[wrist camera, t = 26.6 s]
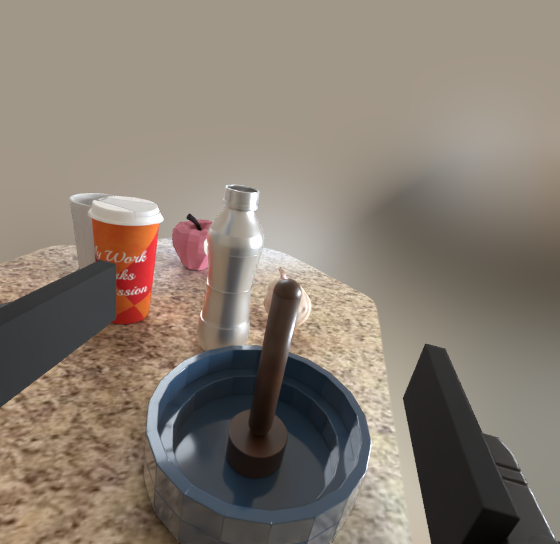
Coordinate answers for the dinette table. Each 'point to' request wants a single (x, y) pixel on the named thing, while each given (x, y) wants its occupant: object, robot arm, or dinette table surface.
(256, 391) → the wooden stamp handle
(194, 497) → the bowl
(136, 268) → the coffee cup
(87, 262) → the cup
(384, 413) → the dinette table surface
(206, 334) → the silver water bottle
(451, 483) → the robot arm
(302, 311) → the garlic bulb
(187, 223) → the apple
